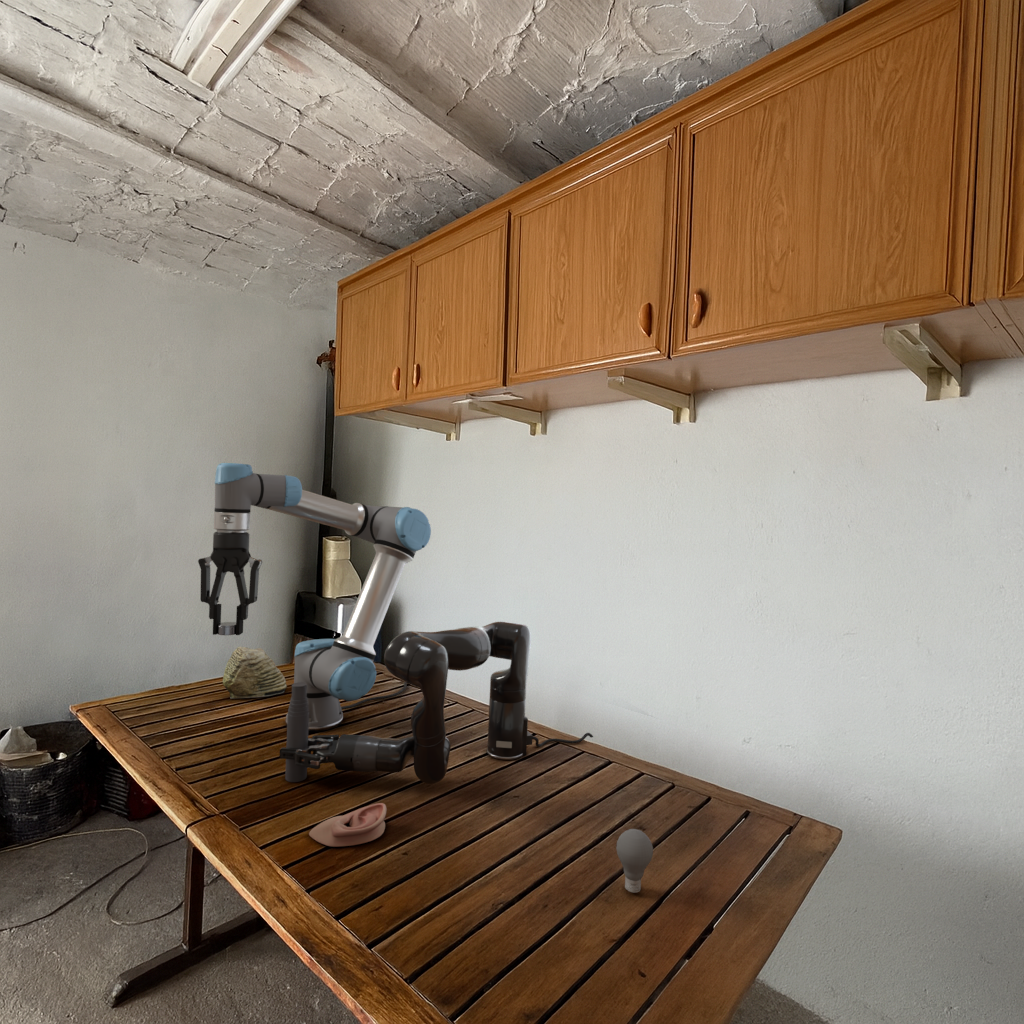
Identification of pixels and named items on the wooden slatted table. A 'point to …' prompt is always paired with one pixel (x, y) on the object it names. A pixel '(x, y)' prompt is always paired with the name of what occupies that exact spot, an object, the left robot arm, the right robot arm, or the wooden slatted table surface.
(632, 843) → the light bulb
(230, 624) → the cap
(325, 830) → the anatomical model
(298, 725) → the bottle
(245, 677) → the fossil
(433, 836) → the wooden slatted table surface
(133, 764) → the wooden slatted table surface
